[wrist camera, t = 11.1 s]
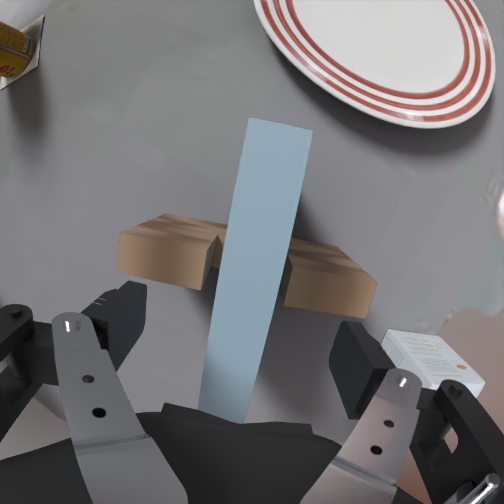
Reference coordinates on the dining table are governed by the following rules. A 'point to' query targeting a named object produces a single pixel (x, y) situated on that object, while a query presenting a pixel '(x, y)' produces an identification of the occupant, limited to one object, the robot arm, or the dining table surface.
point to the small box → (429, 360)
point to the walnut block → (210, 255)
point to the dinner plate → (389, 55)
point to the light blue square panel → (252, 263)
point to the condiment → (18, 50)
